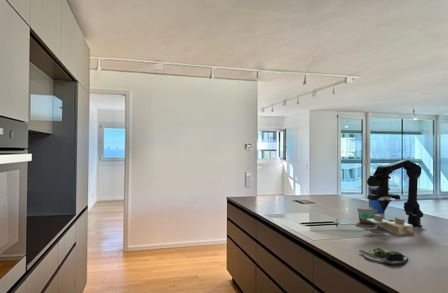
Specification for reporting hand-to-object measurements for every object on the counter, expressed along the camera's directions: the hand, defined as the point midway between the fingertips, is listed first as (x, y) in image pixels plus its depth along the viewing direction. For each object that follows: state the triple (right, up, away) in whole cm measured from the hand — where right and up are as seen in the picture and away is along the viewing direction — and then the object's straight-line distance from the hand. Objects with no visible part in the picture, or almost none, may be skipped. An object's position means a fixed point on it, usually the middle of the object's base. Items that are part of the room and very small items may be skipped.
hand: (383, 210), depth 191 cm
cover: (-4, -7, 0) cm, 8 cm away
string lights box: (+13, -12, +35) cm, 40 cm away
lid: (+5, -6, -9) cm, 12 cm away
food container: (-5, -12, +13) cm, 18 cm away
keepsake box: (+4, -11, -5) cm, 13 cm away
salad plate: (-27, -11, -54) cm, 61 cm away
